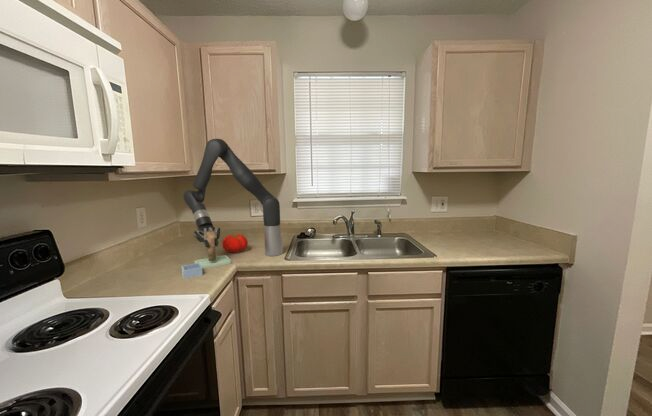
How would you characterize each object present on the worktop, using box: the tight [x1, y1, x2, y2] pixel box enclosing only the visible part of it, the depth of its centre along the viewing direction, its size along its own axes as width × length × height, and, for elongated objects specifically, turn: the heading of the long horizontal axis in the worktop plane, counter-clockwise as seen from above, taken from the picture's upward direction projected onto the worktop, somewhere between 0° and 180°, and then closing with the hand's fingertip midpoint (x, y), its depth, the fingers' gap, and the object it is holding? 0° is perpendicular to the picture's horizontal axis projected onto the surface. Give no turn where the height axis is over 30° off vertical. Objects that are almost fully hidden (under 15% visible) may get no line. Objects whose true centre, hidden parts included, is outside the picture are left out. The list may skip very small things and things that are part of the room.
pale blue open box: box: [180, 263, 204, 280], centre depth 127 cm, size 8×8×4 cm
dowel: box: [207, 230, 217, 261], centre depth 141 cm, size 4×4×15 cm
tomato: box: [221, 233, 249, 254], centre depth 165 cm, size 14×16×10 cm
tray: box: [193, 254, 232, 270], centre depth 142 cm, size 16×12×2 cm
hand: (212, 246), depth 139 cm, fingers closed on dowel, 3 cm apart
